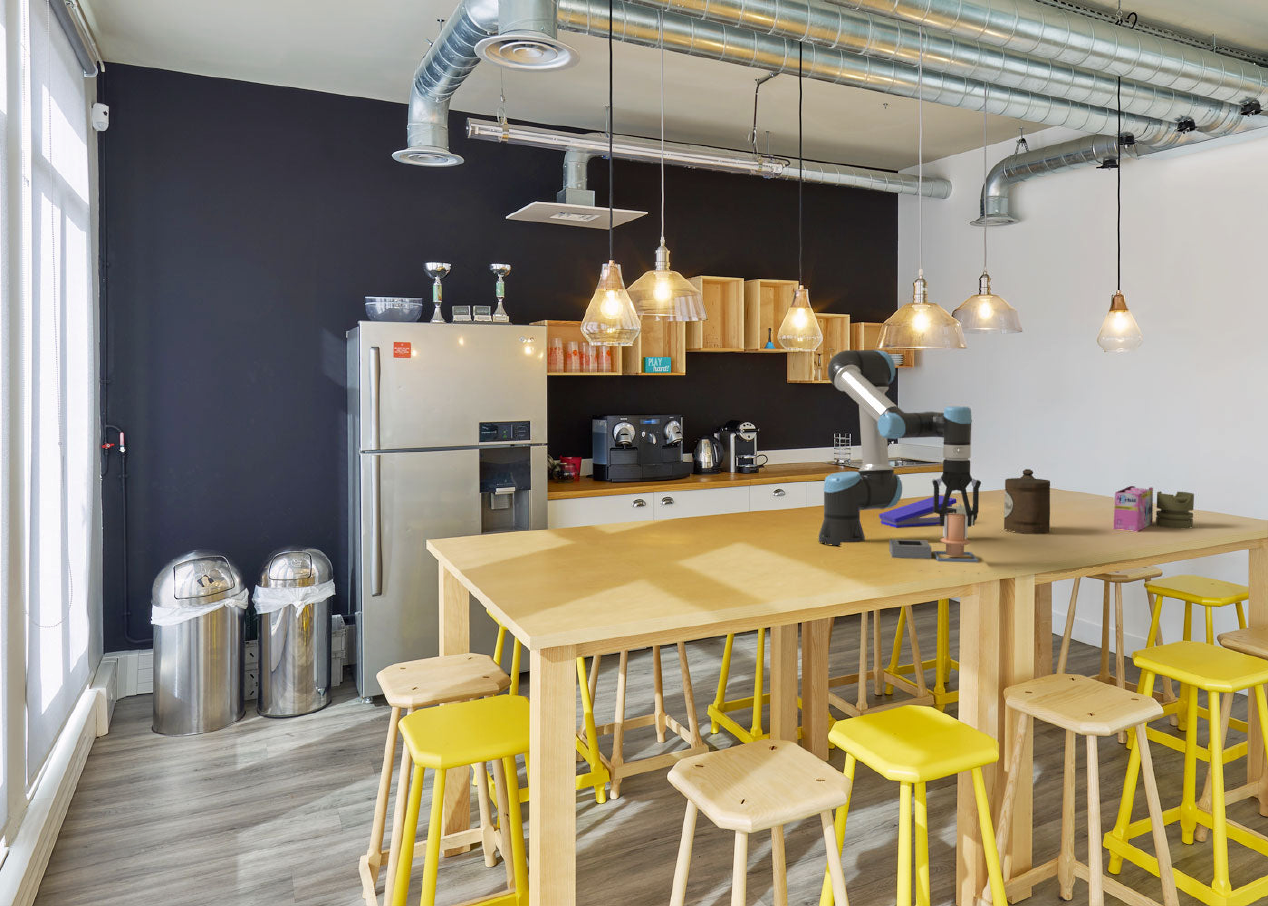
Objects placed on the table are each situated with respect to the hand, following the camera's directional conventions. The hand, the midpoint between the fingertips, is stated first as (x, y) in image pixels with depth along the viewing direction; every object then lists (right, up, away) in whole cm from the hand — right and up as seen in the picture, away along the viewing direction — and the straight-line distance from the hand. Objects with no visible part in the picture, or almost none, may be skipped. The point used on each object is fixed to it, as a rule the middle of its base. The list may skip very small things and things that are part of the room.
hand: (955, 537), depth 250 cm
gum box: (+87, -2, +57) cm, 104 cm away
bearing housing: (-11, -7, +6) cm, 15 cm away
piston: (+102, -2, +58) cm, 117 cm away
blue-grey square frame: (0, -8, +1) cm, 8 cm away
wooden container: (+45, -3, +52) cm, 69 cm away
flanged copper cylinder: (0, -5, 0) cm, 5 cm away
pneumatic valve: (+16, -5, +38) cm, 41 cm away
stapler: (+13, -2, +70) cm, 71 cm away
